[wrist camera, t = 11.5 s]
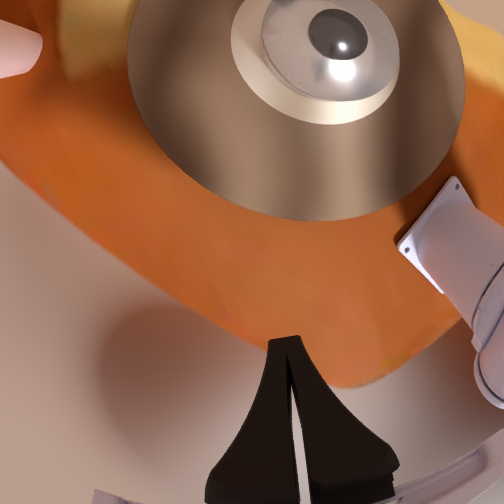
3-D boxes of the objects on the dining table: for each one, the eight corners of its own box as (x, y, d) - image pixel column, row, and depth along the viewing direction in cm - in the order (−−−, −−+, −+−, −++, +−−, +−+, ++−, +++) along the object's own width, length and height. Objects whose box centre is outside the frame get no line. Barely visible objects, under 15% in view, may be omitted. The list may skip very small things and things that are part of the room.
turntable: (453, -8, 8) (486, -18, 4) (421, 231, 19) (451, 259, 15) (168, -74, 6) (153, -102, 3) (128, 198, 17) (99, 224, 13)
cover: (382, 16, 10) (406, 3, 7) (372, 114, 13) (397, 117, 11) (266, -13, 9) (271, -36, 7) (252, 91, 13) (254, 86, 10)
